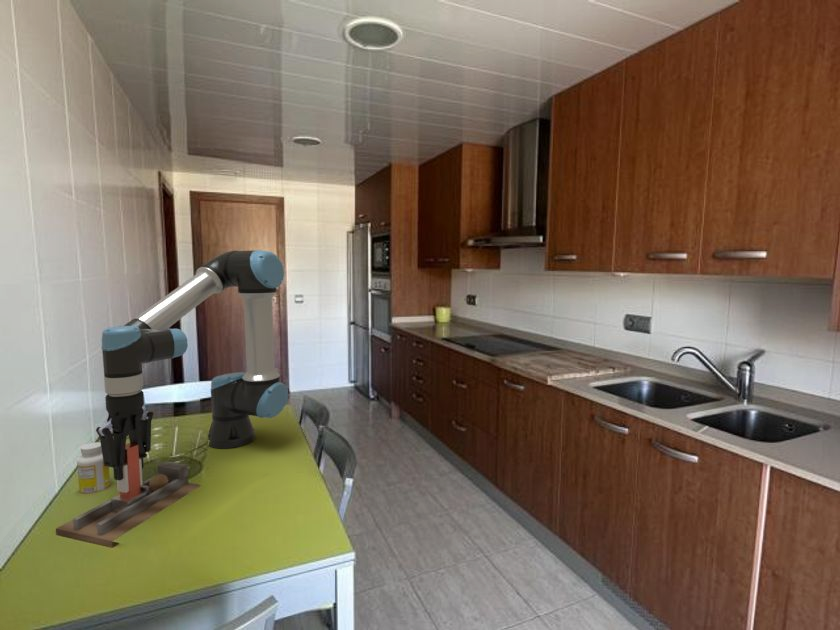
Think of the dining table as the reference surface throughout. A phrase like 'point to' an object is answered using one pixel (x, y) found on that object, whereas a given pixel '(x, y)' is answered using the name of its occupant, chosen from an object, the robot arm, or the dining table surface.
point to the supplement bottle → (92, 469)
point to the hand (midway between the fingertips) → (130, 487)
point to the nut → (158, 482)
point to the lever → (130, 481)
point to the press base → (128, 510)
